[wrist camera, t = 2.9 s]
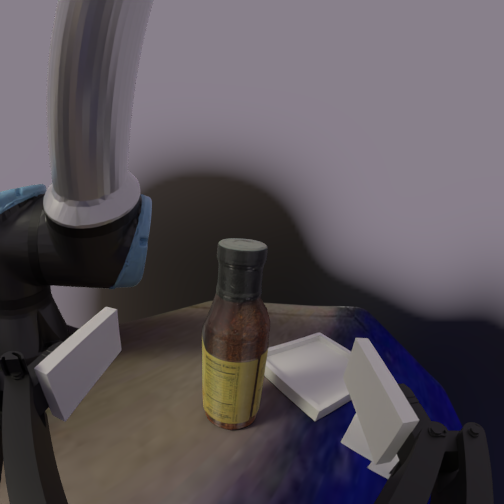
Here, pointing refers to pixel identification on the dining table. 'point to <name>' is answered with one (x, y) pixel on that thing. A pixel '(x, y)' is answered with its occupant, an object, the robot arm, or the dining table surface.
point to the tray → (310, 373)
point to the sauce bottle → (235, 336)
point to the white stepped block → (365, 448)
